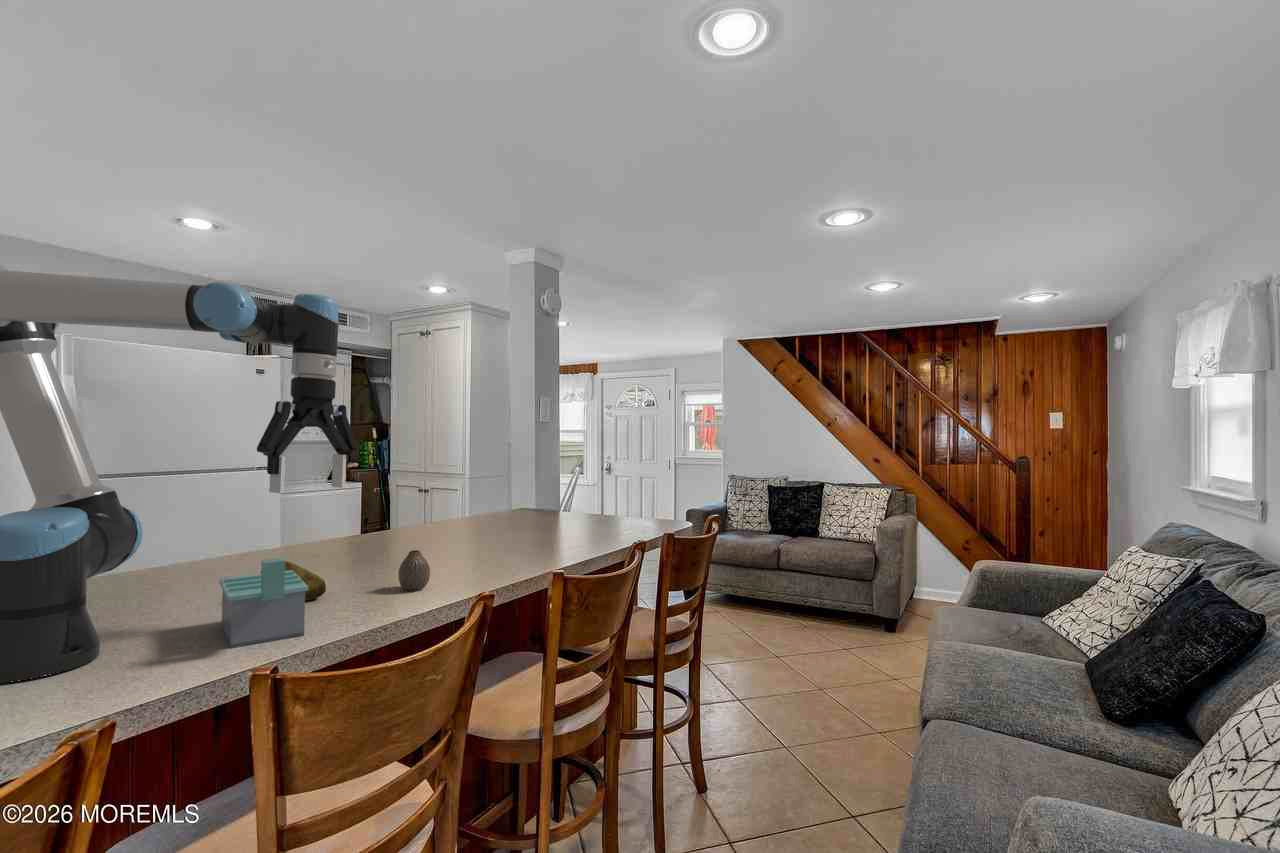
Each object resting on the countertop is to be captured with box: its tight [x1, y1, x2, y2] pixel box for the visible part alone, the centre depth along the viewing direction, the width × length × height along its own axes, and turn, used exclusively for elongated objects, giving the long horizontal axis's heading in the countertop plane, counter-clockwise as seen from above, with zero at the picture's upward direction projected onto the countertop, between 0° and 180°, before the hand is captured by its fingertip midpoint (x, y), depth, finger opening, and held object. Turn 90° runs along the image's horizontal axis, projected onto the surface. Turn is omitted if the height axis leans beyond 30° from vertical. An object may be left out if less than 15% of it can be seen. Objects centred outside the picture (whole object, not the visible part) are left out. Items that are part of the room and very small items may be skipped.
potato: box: [259, 560, 327, 602], centre depth 133 cm, size 8×13×8 cm, turn 72°
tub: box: [221, 588, 306, 648], centre depth 113 cm, size 11×15×8 cm
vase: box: [397, 549, 431, 592], centre depth 143 cm, size 7×7×9 cm
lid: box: [218, 557, 308, 601], centre depth 112 cm, size 12×20×7 cm, turn 39°
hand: (309, 490), depth 117 cm, fingers open, 13 cm apart
